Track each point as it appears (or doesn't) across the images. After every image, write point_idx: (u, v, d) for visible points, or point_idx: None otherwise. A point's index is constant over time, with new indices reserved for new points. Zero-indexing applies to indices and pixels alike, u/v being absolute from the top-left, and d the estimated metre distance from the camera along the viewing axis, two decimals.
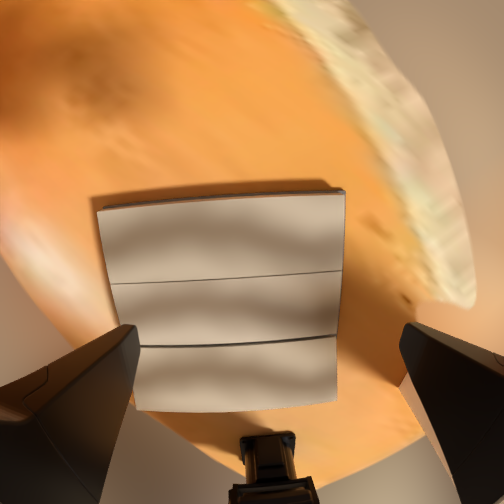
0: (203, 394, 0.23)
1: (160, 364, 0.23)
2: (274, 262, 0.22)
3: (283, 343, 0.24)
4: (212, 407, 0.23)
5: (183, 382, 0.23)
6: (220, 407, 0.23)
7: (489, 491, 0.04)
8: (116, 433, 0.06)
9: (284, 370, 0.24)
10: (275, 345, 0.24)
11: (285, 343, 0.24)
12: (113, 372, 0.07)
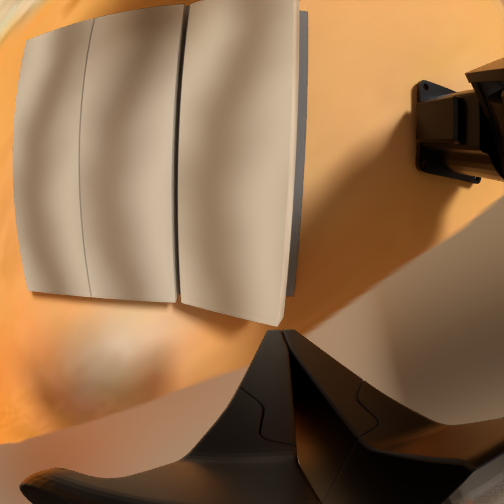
0: (251, 199, 0.14)
1: (200, 260, 0.16)
2: (68, 94, 0.13)
3: (184, 69, 0.14)
4: (276, 188, 0.14)
5: (228, 230, 0.15)
6: (278, 173, 0.13)
7: None
8: None
9: (223, 63, 0.13)
10: (185, 80, 0.14)
11: (184, 66, 0.13)
12: None
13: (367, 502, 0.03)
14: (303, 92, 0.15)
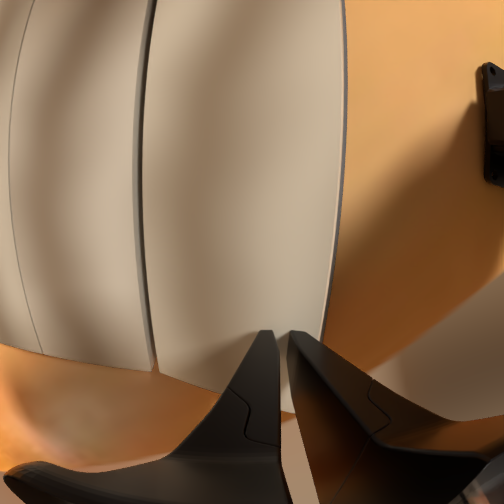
0: (266, 230, 0.08)
1: (183, 321, 0.10)
2: (0, 75, 0.07)
3: (156, 20, 0.07)
4: (314, 213, 0.07)
5: (226, 280, 0.09)
6: (318, 186, 0.07)
7: None
8: None
9: (218, 4, 0.07)
10: (156, 34, 0.07)
11: (156, 16, 0.07)
12: None
13: (380, 498, 0.03)
14: None
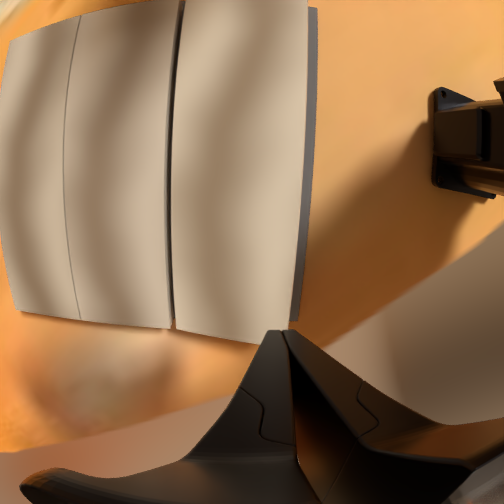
0: (257, 219, 0.13)
1: (198, 284, 0.15)
2: (51, 99, 0.12)
3: (178, 71, 0.12)
4: (287, 207, 0.13)
5: (231, 252, 0.14)
6: (289, 192, 0.13)
7: None
8: None
9: (225, 67, 0.11)
10: (179, 83, 0.12)
11: (178, 67, 0.12)
12: None
13: (367, 502, 0.03)
14: (312, 97, 0.14)
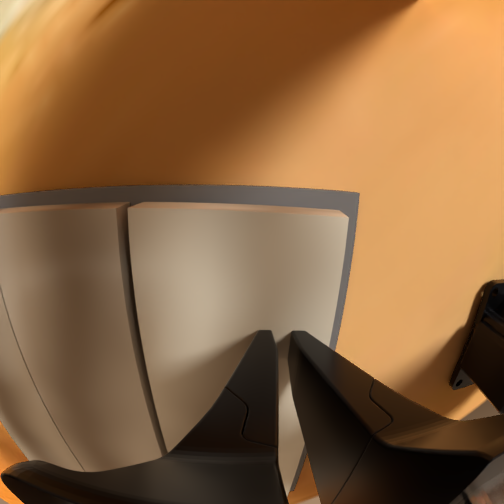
0: None
1: None
2: (1, 335, 0.09)
3: (144, 345, 0.09)
4: (287, 463, 0.11)
5: None
6: (290, 456, 0.11)
7: None
8: None
9: (213, 356, 0.09)
10: (150, 361, 0.09)
11: (143, 342, 0.09)
12: None
13: (382, 498, 0.03)
14: (330, 347, 0.11)
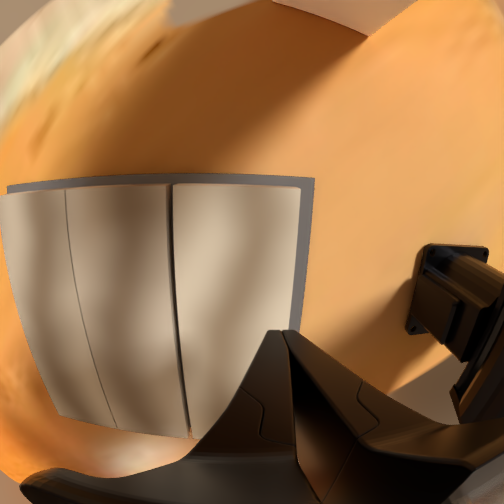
0: None
1: (210, 416, 0.18)
2: (61, 280, 0.15)
3: (176, 275, 0.15)
4: None
5: None
6: None
7: None
8: None
9: (222, 278, 0.15)
10: (179, 287, 0.15)
11: (176, 272, 0.15)
12: None
13: (367, 502, 0.03)
14: (301, 283, 0.17)
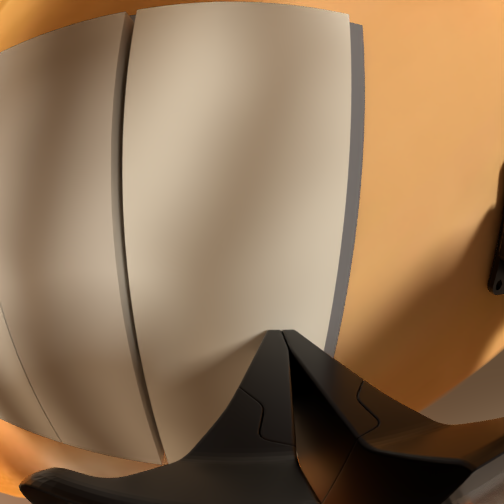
0: None
1: (192, 435, 0.10)
2: None
3: (125, 156, 0.07)
4: None
5: None
6: None
7: None
8: None
9: (211, 156, 0.07)
10: (128, 181, 0.07)
11: (125, 150, 0.07)
12: None
13: (367, 502, 0.03)
14: (353, 189, 0.09)
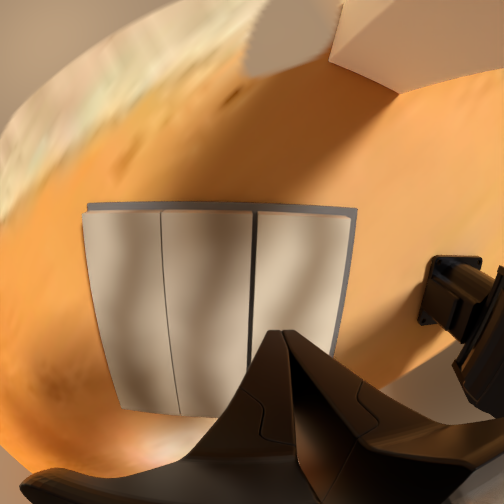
0: None
1: None
2: (150, 288, 0.20)
3: (256, 282, 0.20)
4: None
5: None
6: None
7: None
8: None
9: (291, 284, 0.20)
10: (257, 291, 0.20)
11: (256, 280, 0.20)
12: None
13: (367, 502, 0.03)
14: (344, 286, 0.22)
